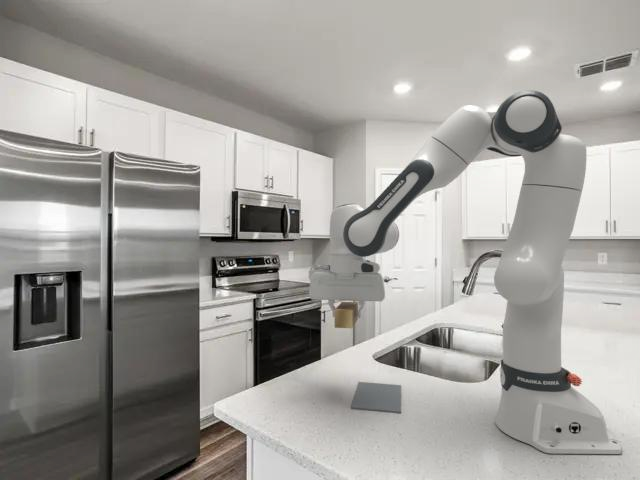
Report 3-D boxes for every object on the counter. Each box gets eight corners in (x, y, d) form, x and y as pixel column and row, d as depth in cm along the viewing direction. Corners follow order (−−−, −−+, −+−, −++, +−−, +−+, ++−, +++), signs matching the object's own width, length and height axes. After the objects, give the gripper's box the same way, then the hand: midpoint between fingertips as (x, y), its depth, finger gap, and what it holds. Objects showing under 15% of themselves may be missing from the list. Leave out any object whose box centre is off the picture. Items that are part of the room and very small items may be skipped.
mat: (400, 386, 102) (400, 385, 102) (400, 413, 86) (400, 411, 86) (358, 383, 104) (358, 381, 104) (351, 408, 89) (351, 406, 89)
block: (357, 302, 101) (352, 310, 90) (358, 318, 101) (352, 328, 90) (342, 301, 102) (334, 309, 91) (342, 317, 102) (334, 327, 91)
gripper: (305, 265, 95) (306, 318, 95) (383, 266, 91) (384, 321, 91) (311, 264, 101) (311, 313, 101) (385, 264, 97) (385, 316, 97)
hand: (346, 317), depth 96 cm, fingers closed on block, 4 cm apart
